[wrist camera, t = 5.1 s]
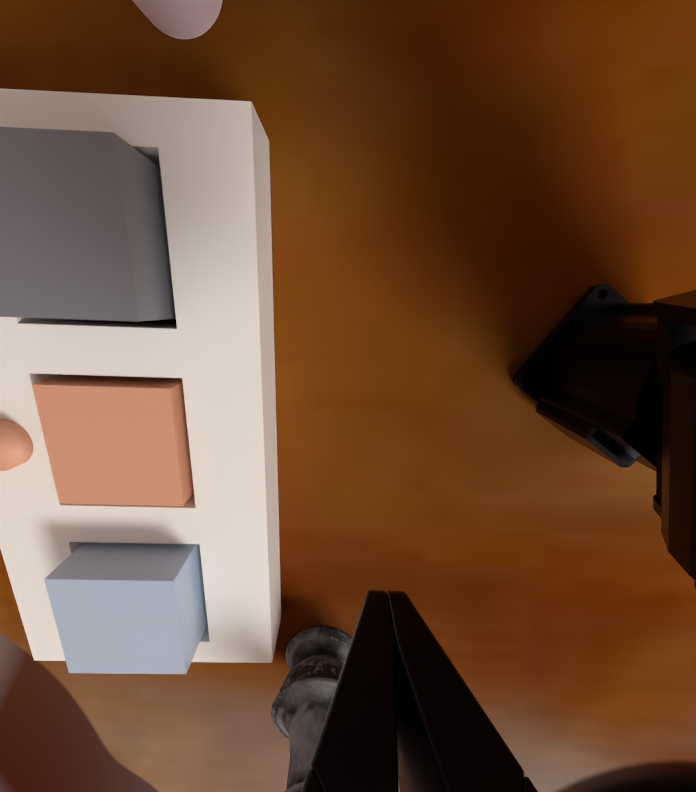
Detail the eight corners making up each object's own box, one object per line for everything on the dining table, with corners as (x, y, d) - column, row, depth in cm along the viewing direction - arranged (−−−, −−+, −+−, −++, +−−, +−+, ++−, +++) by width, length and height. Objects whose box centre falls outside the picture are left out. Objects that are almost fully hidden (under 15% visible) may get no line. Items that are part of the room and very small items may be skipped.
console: (-45, 125, 15) (-166, 69, 11) (268, 140, 15) (246, 91, 11) (74, 613, 22) (24, 671, 19) (281, 616, 22) (270, 673, 19)
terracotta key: (83, 371, 17) (31, 384, 14) (198, 374, 17) (169, 388, 14) (102, 473, 19) (59, 503, 16) (207, 475, 19) (183, 506, 16)
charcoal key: (13, 162, 13) (-78, 122, 10) (162, 169, 13) (113, 132, 11) (45, 313, 15) (-26, 315, 12) (177, 318, 15) (138, 321, 12)
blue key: (91, 535, 18) (44, 579, 15) (200, 537, 18) (173, 581, 15) (109, 619, 20) (68, 673, 17) (208, 620, 20) (186, 674, 17)
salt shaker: (273, 676, 24) (209, 1020, 12) (292, 615, 22) (239, 944, 11) (350, 690, 25) (356, 1034, 13) (373, 632, 23) (404, 963, 11)
